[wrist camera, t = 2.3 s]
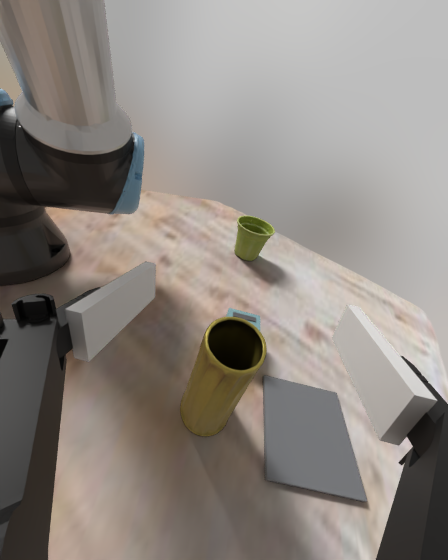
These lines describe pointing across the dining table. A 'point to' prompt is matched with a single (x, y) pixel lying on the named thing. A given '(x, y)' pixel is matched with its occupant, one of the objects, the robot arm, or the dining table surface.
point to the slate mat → (308, 440)
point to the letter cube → (245, 317)
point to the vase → (221, 374)
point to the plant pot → (251, 237)
